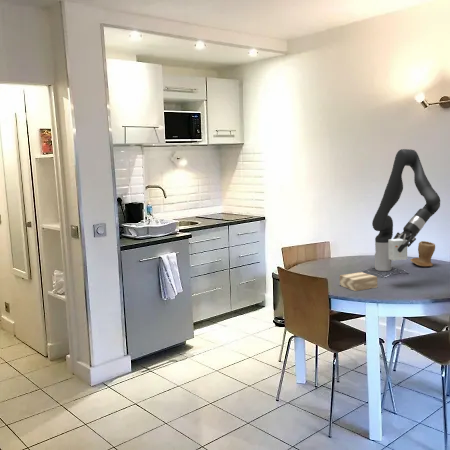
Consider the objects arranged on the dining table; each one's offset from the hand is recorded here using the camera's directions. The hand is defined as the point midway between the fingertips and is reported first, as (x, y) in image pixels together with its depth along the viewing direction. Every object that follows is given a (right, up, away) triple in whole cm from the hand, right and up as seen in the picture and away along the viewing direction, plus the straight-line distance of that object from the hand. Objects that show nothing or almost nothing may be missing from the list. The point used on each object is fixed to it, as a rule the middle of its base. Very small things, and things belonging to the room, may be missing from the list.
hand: (395, 250), depth 267 cm
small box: (+2, -5, +1) cm, 5 cm away
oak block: (-18, -20, +5) cm, 27 cm away
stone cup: (+34, -12, +48) cm, 60 cm away
